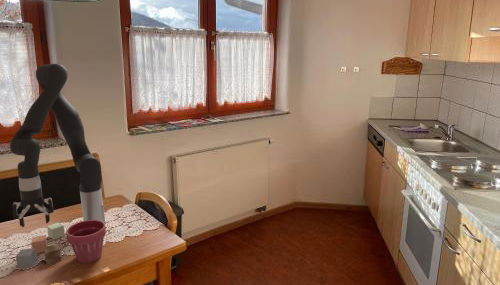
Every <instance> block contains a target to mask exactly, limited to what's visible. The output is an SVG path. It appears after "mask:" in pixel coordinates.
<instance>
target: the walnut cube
mask: <svg viewBox="0 0 500 285" xmlns="http://www.w3.org/2000/svg"><path fill="white" fill-rule="evenodd" d="M43 254H44V260H45V263H46V265H50V264H54V263H57V262H61V261H62V256H61V248H60V247H59V244H58V243H56V244H52V245H47V247H44V252H43Z"/></svg>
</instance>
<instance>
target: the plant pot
mask: <svg viewBox="0 0 500 285" xmlns="http://www.w3.org/2000/svg"><path fill="white" fill-rule="evenodd" d="M106 229H107V228H106V223H105V224H104V223H103V222H102V221H99V220H86V221H83V220H82V221H79V222H76V223H74V224H72V225H70V226H69V227H67V229H66V231H65V236H66V241H67V243H68V244H70V246H71V249H72V251H73V254H74V256H75V258H76V261H77V262H79V263H83V264H87V263H88V264H89V263H92V262H95V261H97V260H98V259H100V258H101V256H102V252H103V246H104V239H105V238H104V237H106V234H107V230H106Z"/></svg>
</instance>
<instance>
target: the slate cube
mask: <svg viewBox="0 0 500 285" xmlns="http://www.w3.org/2000/svg"><path fill="white" fill-rule="evenodd" d="M15 258H16V260H15V261H16V265H17V268H18V269H22V268H32V267H33V266H34V265H35V263H36V261H37V253H35V248H34V249H32V248H24V249H20V251H19V252H18V253H17V254H16V256H15Z"/></svg>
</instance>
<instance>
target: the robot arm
mask: <svg viewBox="0 0 500 285" xmlns="http://www.w3.org/2000/svg"><path fill="white" fill-rule="evenodd" d="M68 76H69V75H68V71H67V68H66V67H65V66H64V65H62V64H60V63H48V64H47V63H46V64H41V65H39V66H37V68H36V70H35V78H36V81H37V82H38V85H39V87H40V88H41V90H42V92H40V94H39V96H38V97H37V98H36V99H35V100H34V102H33V103H32V104H31V106H30V107H29V109H28V111H27V113H26V114H25V117H24V120H23V123H22V125H21V126H20V128H19V129H18V130H17V131H16V133H15V134H14V135H13V137H12V139H11V141H10V143H9V149H10V152H11V153H12V154H13V155H15V156H21V157H22V156H23V157H24V160H22V161H20V162H18V163H17V175H18V189H19V194H20V200H21V201H20V202H16V201H13V203H12V207H11V208H12V217H13V219H18V220H19V226H20V227H22V228H25V218H24V216H25V215H26V213H31V212H38V211H40V212H41V213H43V214H44V217H45V223H46V225H47V224H49V223H50V220H51V218H50V214H53V213H54V212H55V210H54V204H53V200H52V199H53V198H52V197H51V196H49V197H48V198H44V197H43V190H42V189H43V188H42V182H41V178H40V172H39V160H40V156H41V155H40V154H41V146H40V145H41V144H40V143H39V140H37V139H36V138H32V137H34V136H36V135H39V134H41V133H42V131H43V129H44V126H45V123H46V121H47V119H48V116H49V113H50V111H52V113H53V115H54V118H55V120H56V122H57V125H58V128H59V130H60V133H61V135H62V136H63V138H64V140H65V143H66V144H67V146H68V148H69V150H70V151H69V152H70V153H71V157H72V161H73V163H74V168H75V169H76V171H77V172H79V174H80V184H79V186H78V187H79V195H80V196H79V197H80V202H81V204H80V205H81V210H82V211H81V212H82V221H86V220H99V221H102V222H103V223H104V224H105V225H106V217H105V208H104V202H103V193H102V183H103V179H102V177H103V176H102V166H101V162H100V160H99V159H98V158H96V157H95V156H93V154H92V153H91V151H90V148H89V147H88V145H87V142H86V136H85V128H84V123H83V122H82V119H81V117H80V114H79V112H78V111H77V109H76V107H74V106H73V105H72V103H70V101H68V99H67V98H66V97H65V95H64V93H63V92H62V89H63V88H64V86H65V84H66V83H67V81H68ZM45 203H46V205H48V207H49V209H48V208H47V207H45V206H44V204H45ZM19 207H21V208H22V210H21V212H20V213H18V209H19Z"/></svg>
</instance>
